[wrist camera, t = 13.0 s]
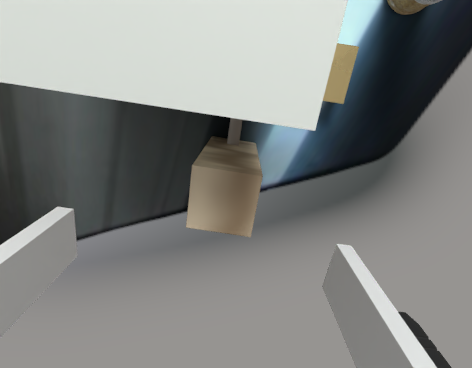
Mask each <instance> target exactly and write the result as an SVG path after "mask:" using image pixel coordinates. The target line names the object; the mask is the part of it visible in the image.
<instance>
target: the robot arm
mask: <svg viewBox="0 0 472 368" xmlns="http://www.w3.org/2000/svg"><path fill="white" fill-rule="evenodd" d="M76 257H77V244H76V231H75V219H74V209H71V208H63V207H56V208H55V209H54V210H52V211H51V212H49V213H48V214H46V215H45V216H43V217H42V218H40V219H39V220H37V221H36V222H34V223H33V224H31V225H30V226H28V227H27V228H25V229H24V230H22V231H21V232H19V233H18V234H16V235H15V236H13V237H12V238H10V239H9V240H8V241H6V242H5V243H3V244H2V245H0V338H1V337H2V336H3V335H4V333H6V331H7V330H8V329H9V328H10V327H11V326H12V325H13V324H14V323H15V322H16V321H17V320H18V319H19V318H20V317H21V315H22V314H23V313H24V312H25V311H26V310H27V309H28V308H29V307H30V306H31V305H32V304H33V302H35V301H36V299H37V298H38V297H39V296H40V295H41V294H42V293H43V292H44V291H45V290H46V289H47V288H48V287H49V286H50V285H51V284H52V283H53V281H54V280H55V279H56V278H57V277H58V276H59V275H60V274H61V273H62V272H63V271H64V270H65V269H66V268H67V267H68V266H69V264H70V263H71V262H72V261H73V260H74V259H75V258H76ZM322 287H323V289H324V292H325V294H326V297H327V299H328V301H329V304H330V306H331V309H332V311H333V313H334V316H335V318H336V321H337V323H338V325H339V328H340V330H341V332H342V335H343V337H344V340H345V342H346V344H347V347H348V349H349V352H350V354H351V356H352V359H353V361H354V363H355V366H356V368H451V366H450V365H449V364H448V362H447V361H446V360H445V358H444V357H443V356H442V355H441V353H440V352H439V351H437V348H436V347H435V345H434V344H433V343H432V341H431V340H429V339H428V336H427V335H426V333H425V332H424V331H423V329H422V328H421V327H420V325H419V324H418V323H417V322H415V321H414V320H413V319H412V318H411V317H410V316H409V315H408V314H406V313H404V312H397V310H396V309H395V307H394V306H393V305H392V303H391V302H390V300H389V299H388V297H387V296H386V295H385V293H384V292H383V290H382V289H381V287H380V286H379V285H378V283H377V282H376V280H375V279H374V278H373V276H372V275H371V273H370V272H369V271H368V269H367V268H366V266H365V265H364V263H363V262H362V261H361V259H360V258H359V256H358V255H357V253H356V252H355V251H354V249H353V248H352V246H350V245H342V244H336V247H335V250H334V253H333V256H332V259H331V262H330V265H329V268H328V271H327V274H326V277H325V280H324V283H323V286H322Z"/></svg>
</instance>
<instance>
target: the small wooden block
mask: <svg viewBox="0 0 472 368" xmlns="http://www.w3.org/2000/svg"><path fill="white" fill-rule="evenodd" d="M358 48H359V47H357V46H351V45H345V44H338V43H337V46H336V50H335V54H334V58H333V61H332V65H331V69H330V73H329V77H328V81H327V85H326V89H325V93H324V97H323V101H328V102H334V103H341V104H343V103H344V99H345V96H346V92H347V88H348V85H349V81H350V77H351V74H352V70H353V66H354V63H355V59H356V56H357V52H358Z"/></svg>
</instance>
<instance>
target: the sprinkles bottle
mask: <svg viewBox="0 0 472 368" xmlns="http://www.w3.org/2000/svg"><path fill="white" fill-rule="evenodd" d="M387 1H388V4H389V5H390V7H391V8H392V9H393V10H394V11H395V12H397V13H399V14H403V15H407V14H413V13H416V12H418V11H420V10H422V9H423V8H424V7H426V6H428V5H430V4H434V3H437V2H439V1H441V0H387Z"/></svg>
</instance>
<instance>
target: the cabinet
mask: <svg viewBox="0 0 472 368" xmlns="http://www.w3.org/2000/svg"><path fill="white" fill-rule="evenodd" d="M347 2H348V0H0V82H4V83H10V84H17V85H23V86H30V87H36V88H42V89H49V90H55V91H62V92H68V93H75V94H81V95H88V96H94V97H100V98H107V99H113V100H120V101H126V102H133V103H139V104H146V105H152V106H158V107H165V108H171V109H178V110H184V111H191V112H197V113H203V114H210V115H216V116H223V117H229V118H236V119H242V120H249V121H255V122H261V123H268V124H274V125H281V126H287V127H294V128H300V129H307V130H313V131H315V129H316V125H317V121H318V117H319V113H320V109H321V105H322V101H323V97H324V93H325V89H326V85H327V81H328V77H329V73H330V69H331V65H332V61H333V58H334V54H335V50H336V46H337V42H338V38H339V34H340V30H341V26H342V22H343V18H344V14H345V10H346V6H347Z"/></svg>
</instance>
